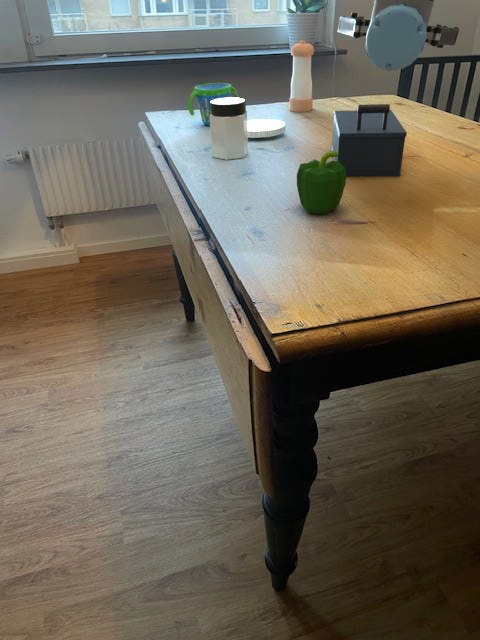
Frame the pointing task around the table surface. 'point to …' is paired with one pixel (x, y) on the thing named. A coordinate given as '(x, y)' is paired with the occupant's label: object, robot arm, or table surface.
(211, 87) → the snack cup
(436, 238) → the table surface
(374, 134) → the lunchbox lid
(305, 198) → the bell pepper
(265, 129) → the plastic lid
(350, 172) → the box
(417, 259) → the table surface
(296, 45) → the pepper shaker
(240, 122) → the jar
